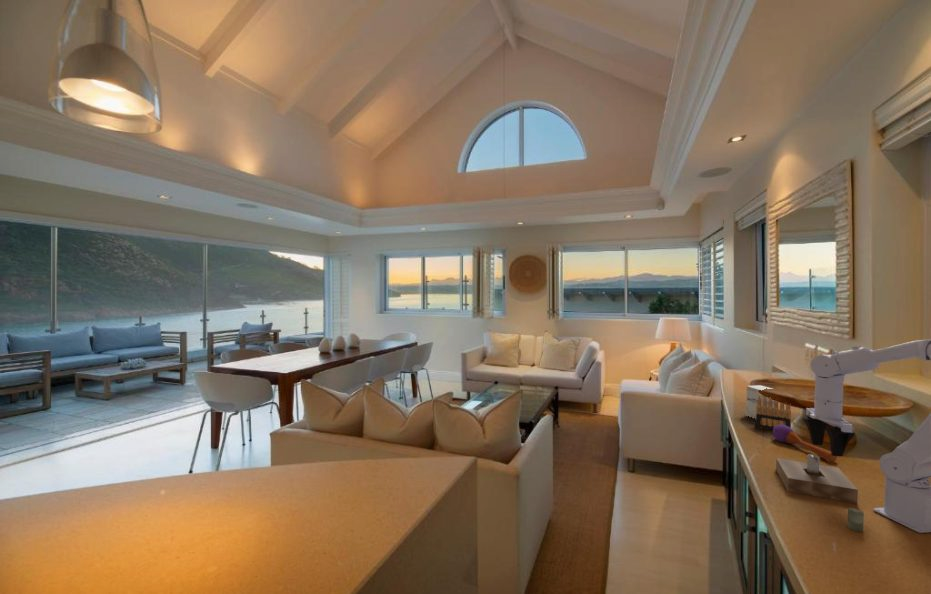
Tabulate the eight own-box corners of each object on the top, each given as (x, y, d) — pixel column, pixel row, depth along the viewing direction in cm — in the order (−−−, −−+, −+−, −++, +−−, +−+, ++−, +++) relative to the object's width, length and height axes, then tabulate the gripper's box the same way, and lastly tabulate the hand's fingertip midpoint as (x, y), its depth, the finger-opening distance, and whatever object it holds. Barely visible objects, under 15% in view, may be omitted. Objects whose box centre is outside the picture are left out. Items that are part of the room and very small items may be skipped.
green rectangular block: (866, 531, 93) (867, 513, 93) (856, 532, 92) (856, 514, 92) (853, 525, 95) (854, 507, 95) (843, 525, 95) (844, 508, 95)
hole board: (837, 480, 117) (838, 467, 117) (857, 503, 105) (857, 489, 104) (775, 469, 123) (776, 458, 123) (787, 490, 111) (787, 477, 111)
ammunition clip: (755, 427, 161) (756, 395, 160) (755, 425, 162) (756, 394, 162) (790, 433, 154) (791, 400, 154) (790, 431, 156) (791, 399, 155)
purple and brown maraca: (822, 450, 128) (767, 423, 148) (824, 468, 129) (768, 439, 149) (840, 446, 129) (782, 420, 149) (841, 464, 130) (783, 436, 149)
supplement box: (745, 416, 174) (745, 385, 173) (760, 415, 175) (761, 384, 175) (760, 421, 167) (761, 390, 166) (776, 420, 168) (777, 389, 168)
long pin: (821, 487, 113) (822, 457, 113) (813, 488, 112) (814, 458, 112) (811, 482, 116) (812, 453, 115) (803, 483, 115) (804, 454, 115)
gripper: (794, 392, 121) (793, 439, 121) (830, 406, 106) (829, 460, 107) (822, 393, 120) (821, 440, 120) (862, 408, 105) (860, 461, 106)
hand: (826, 450), depth 113 cm, fingers open, 7 cm apart
